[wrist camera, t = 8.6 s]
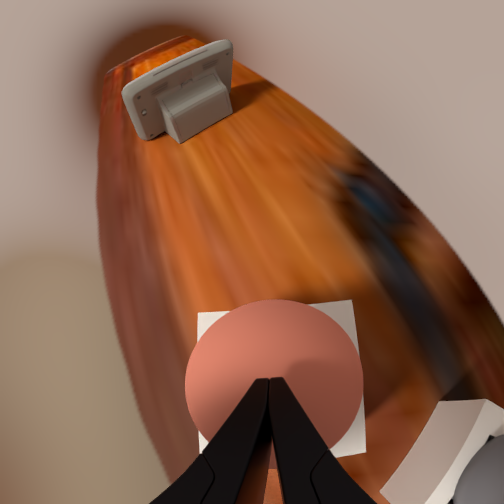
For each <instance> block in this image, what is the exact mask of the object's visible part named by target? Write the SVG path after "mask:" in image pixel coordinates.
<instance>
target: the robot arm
mask: <svg viewBox="0 0 504 504" xmlns="http://www.w3.org/2000/svg"><path fill="white" fill-rule="evenodd" d="M272 439H273V446H274V452H275V458H276V465H277V471H278V477H279V483H280V489H281V495H282V501H283V504H377V503H376V502H375V501H374V500H373V499H372V498H371V497H370V496H369V495H368V494H367V493H366V492H365V491H364V490H363V489H362V488H361V487H360V486H359V485H358V484H357V483H356V482H355V481H354V480H353V479H352V478H351V477H350V476H349V475H348V473H347V472H346V471H345V470H344V469H343V467H342V466H341V465H340V463H339V462H338V461H337V459H336V458H335V456H334V455H333V453H332V452H331V450H329V448H328V446H327V445H326V443H325V442H324V440H323V439H322V437H321V436H320V434H319V433H318V431H317V430H316V428H315V426H314V425H313V423H312V422H311V420H310V419H309V417H308V416H307V414H306V413H305V411H304V409H303V408H302V406H301V405H300V403H299V402H298V400H297V398H296V397H295V395H294V394H293V392H292V390H291V389H290V387H289V386H288V384H287V382H286V381H285V379H284V378H283V377H271V378H270V380H269V378H256V379H255V380H254V382H253V383H252V385H251V386H250V387H249V389H248V390H247V392H246V393H245V395H244V396H243V397H242V399H241V400H240V402H239V403H238V404H237V406H236V407H235V408H234V410H233V411H232V413H231V414H230V415H229V417H228V418H227V419H226V421H225V422H224V423H223V425H222V426H221V427H220V429H219V430H218V431H217V433H216V434H215V435H214V437H213V438H212V439H211V440H210V442H209V443H208V444H207V446H206V447H205V448H204V449H203V451H202V453H200V454H199V455H198V457H197V458H196V459H195V461H194V462H193V463H192V464H191V465H190V466H189V467H188V469H187V470H186V471H185V472H184V473H183V474H182V475H181V476H180V477H179V478H178V479H177V480H176V481H175V482H174V483H173V484H171V485H170V486H169V487H168V488H167V489H166V490H165V491H163V492H162V493H161V494H160V495H159V496H158V497H157V498H155V499H154V500H153V501H152V502H150V503H149V504H263V500H264V494H265V488H266V482H267V475H268V469H269V462H270V455H271V448H272Z"/></svg>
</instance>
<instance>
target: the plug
mask: <svg viewBox="0 0 504 504" xmlns="http://www.w3.org/2000/svg"><path fill="white" fill-rule="evenodd" d="M451 499H453V504H504V435H499V436H497V437H495V438H493V439H491V440H490V441H486V443H485V445H483V446H482V447H481V448H480V449H479V450H478V451H477V452H476V454H475V455H474V456H473V457H472V458H471V460H470V461H469V462H468V464H467V466H466V467H465V469H464V470H463V472H462V474H461V476H460V478H459V480H458V483H457V485H456V488H455V491H454V495H453V496H452V498H451Z"/></svg>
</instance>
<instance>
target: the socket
mask: <svg viewBox="0 0 504 504" xmlns="http://www.w3.org/2000/svg"><path fill="white" fill-rule="evenodd" d="M499 435H504V409H503V408H501V407H499V406H497V405H496V404H494V403H492V402H491V401H489V400H487V399H478V400H462V401H439V402H438V404H437V406H436V408H435V410H434V411H433V413H432V415H431V417H430V419H429V420H428V422H427V424H426V426H425V427H424V429H423V431H422V432H421V434H420V436H419V437H418V439H417V440H416V442H415V444H414V445H413V447H412V448H411V450H410V451H409V453H408V454H407V456H406V457H405V458H404V460H403V461H402V463H401V464H400V466H399V467H398V468H397V470H396V471H395V472H394V474H393V475H392V476H391V478H390V479H389V480H388V481H387V483H386V484H385V485H384V487H383V488H382V489H381V490H380V491H379V492H380V493H381V494H382V495H383V496H384V497H385V498H386V499H387V500H388V501H389V502H390V503H391V504H453V499H451V498H452V496H453V495H454V491H455V488H456V485H457V483H458V480H459V478H460V476H461V474H462V472H463V470H464V469H465V467H466V466H467V464H468V462H469V461H470V460H471V458H472V457H473V456H474V455H475V454H476V452H477V451H478V450H479V449H480V448H481V447H482V446H483V445H485V443H486V441H490V440H491V439H493V438H495V437H497V436H499Z"/></svg>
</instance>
